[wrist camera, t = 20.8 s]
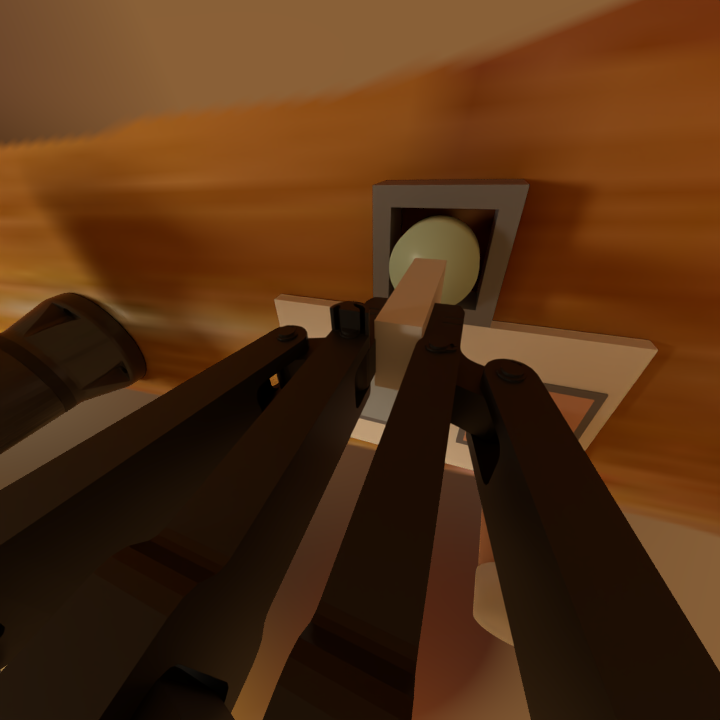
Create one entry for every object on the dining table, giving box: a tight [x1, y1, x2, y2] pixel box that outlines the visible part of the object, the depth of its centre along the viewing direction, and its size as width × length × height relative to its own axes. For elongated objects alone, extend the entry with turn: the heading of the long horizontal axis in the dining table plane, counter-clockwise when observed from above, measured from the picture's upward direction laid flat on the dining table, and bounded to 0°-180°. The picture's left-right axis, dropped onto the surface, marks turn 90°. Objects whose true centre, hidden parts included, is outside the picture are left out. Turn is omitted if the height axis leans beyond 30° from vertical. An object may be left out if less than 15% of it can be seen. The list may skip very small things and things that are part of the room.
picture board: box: [274, 294, 658, 471], centre depth 27 cm, size 28×17×1 cm, turn 92°
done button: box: [389, 215, 480, 305], centre depth 17 cm, size 5×5×2 cm
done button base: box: [373, 179, 530, 328], centre depth 18 cm, size 8×8×3 cm
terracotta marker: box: [473, 509, 514, 646], centre depth 19 cm, size 5×5×14 cm
